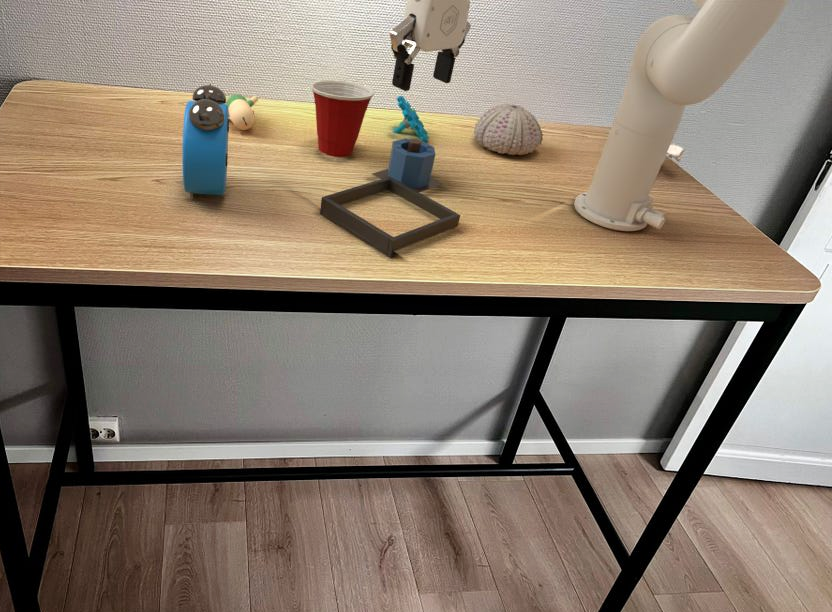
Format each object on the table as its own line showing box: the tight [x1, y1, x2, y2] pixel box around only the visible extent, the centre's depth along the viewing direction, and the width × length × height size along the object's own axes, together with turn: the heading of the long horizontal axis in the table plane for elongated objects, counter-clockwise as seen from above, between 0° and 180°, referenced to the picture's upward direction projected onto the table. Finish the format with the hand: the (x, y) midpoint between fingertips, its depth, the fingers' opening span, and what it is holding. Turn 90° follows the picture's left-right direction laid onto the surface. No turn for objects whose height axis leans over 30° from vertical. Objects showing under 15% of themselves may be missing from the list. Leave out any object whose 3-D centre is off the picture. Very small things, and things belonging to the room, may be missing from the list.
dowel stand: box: [371, 138, 445, 193], centre depth 121 cm, size 9×9×8 cm
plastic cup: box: [310, 79, 375, 158], centre depth 125 cm, size 11×11×12 cm
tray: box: [319, 177, 461, 258], centre depth 111 cm, size 15×15×3 cm
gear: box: [391, 95, 429, 143], centre depth 138 cm, size 11×6×10 cm
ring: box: [387, 138, 436, 188], centre depth 121 cm, size 7×7×6 cm
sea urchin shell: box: [473, 103, 544, 156], centre depth 141 cm, size 13×14×8 cm
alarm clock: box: [181, 83, 230, 200], centre depth 107 cm, size 13×6×15 cm, turn 6°
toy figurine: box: [225, 93, 259, 131], centre depth 133 cm, size 8×4×12 cm
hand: (421, 84), depth 113 cm, fingers open, 9 cm apart
